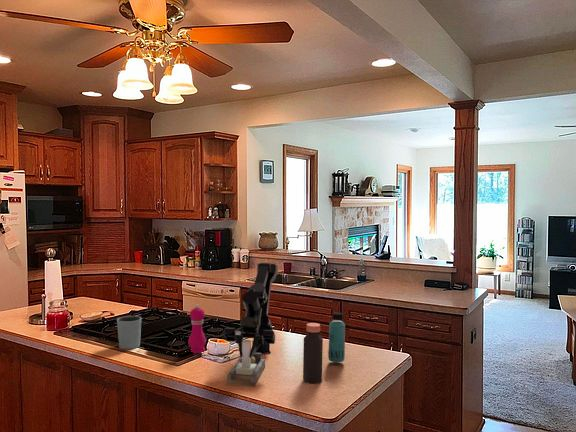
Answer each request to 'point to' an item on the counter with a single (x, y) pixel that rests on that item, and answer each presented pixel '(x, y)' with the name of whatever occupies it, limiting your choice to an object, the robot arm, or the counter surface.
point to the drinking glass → (129, 332)
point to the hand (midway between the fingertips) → (245, 357)
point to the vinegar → (312, 354)
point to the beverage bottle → (336, 339)
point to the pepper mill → (197, 330)
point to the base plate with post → (246, 379)
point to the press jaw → (246, 360)
